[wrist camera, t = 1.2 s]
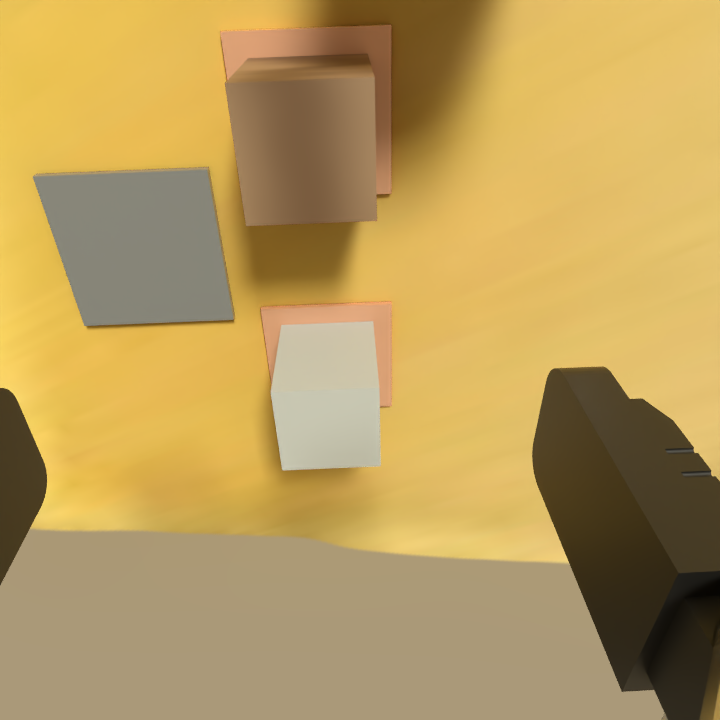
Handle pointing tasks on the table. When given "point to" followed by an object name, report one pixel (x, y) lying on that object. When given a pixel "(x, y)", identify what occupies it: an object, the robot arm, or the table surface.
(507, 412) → the table surface
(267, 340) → the code tile
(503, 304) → the table surface
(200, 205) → the slate coaster
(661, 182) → the table surface
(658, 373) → the table surface
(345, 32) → the code tile
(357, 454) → the white block
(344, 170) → the walnut block
